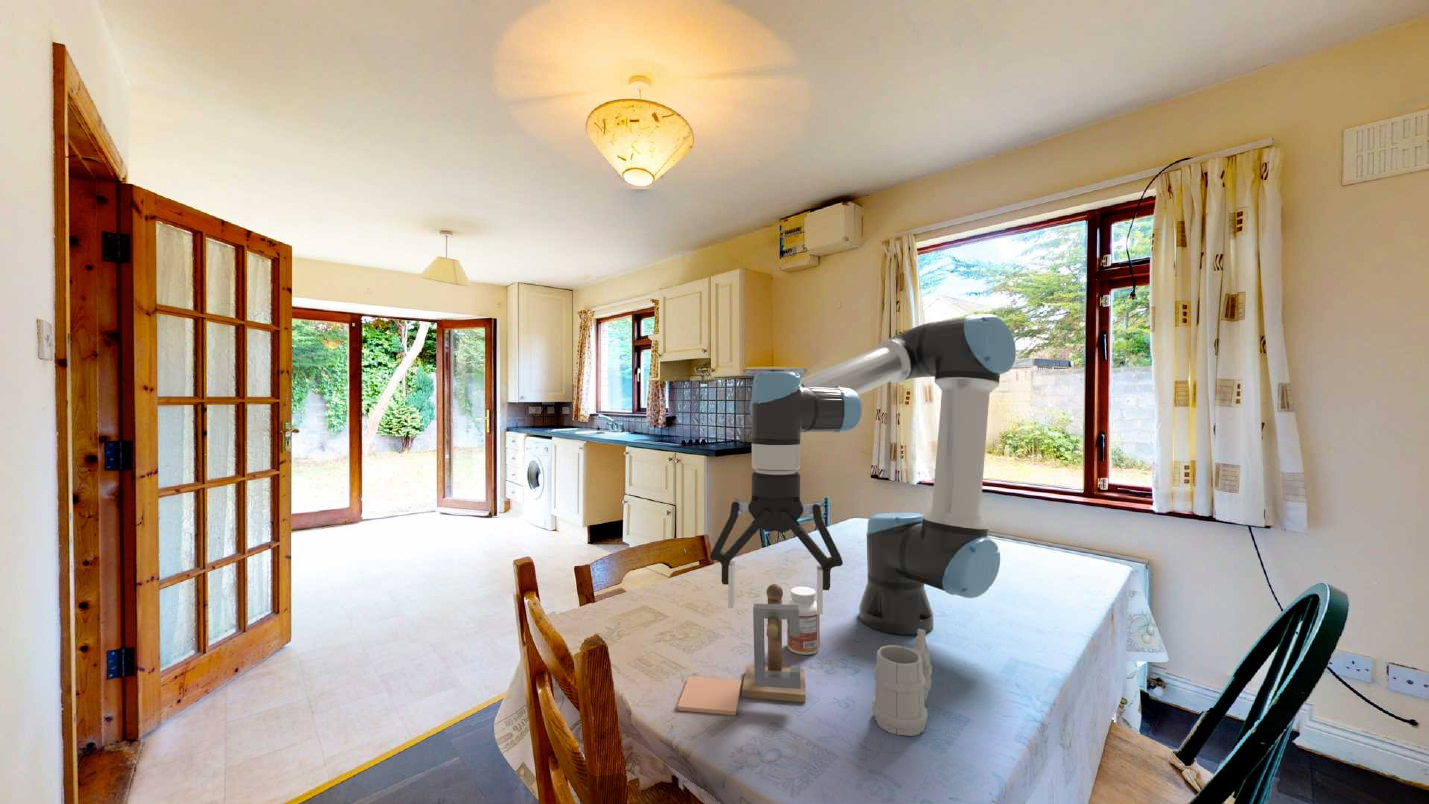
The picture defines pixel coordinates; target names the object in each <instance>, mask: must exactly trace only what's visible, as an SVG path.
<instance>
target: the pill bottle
mask: <svg viewBox="0 0 1429 804" xmlns="http://www.w3.org/2000/svg"><path fill="white" fill-rule="evenodd" d="M790 598H791V600H789V601H788V603H787V605H799V636H790V633H789V619H786V621H787V622H786V627H787V629H786V631H787V632H786V633H787V634H786V638H787V639H786V643H787V647H788V649H789V650H790V652H792V653H794V654H797V655H802V656H803V655H805V656H809V655H814V654H816V653H817V652H818V651H819V650H820V644H821V642H820V640H821V639H820V634H821V633H820V614H818V613H817V601H816V599H817V593H816V590H815V589H814V588H811V587H808V586H795V587H793V588H791V590H790Z"/></svg>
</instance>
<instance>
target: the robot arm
mask: <svg viewBox="0 0 1429 804" xmlns="http://www.w3.org/2000/svg"><path fill="white" fill-rule="evenodd" d="M1016 349H1017V347H1016V343H1015V338H1014V336H1013V333H1012V331H1011V329H1010V328H1009V326H1008V325H1007V323H1006V322H1005V321H1004V320H1003V319H1002V318H1000V317H999V316H996V315H995V314H988V313H987V314H977V315H975V314H971V315H967V316H963V317H957V318H952V319H944V320H940V321H931V322H926V323H924V324H919V325H917V326H915V327H912V328H910V329H908V330H905V331H903V332H901V333H900V334H896V335H894V336H892V337H889V338H888V339H887V338H886V339H885V340H882V341H880V342H879V343H877V344H876V346H875V348H874V349H873V350H869V351H866V352H864V353H862V354H860V355H857V356H854V357H852V358H850V359H847V360H844V361H842V362H840V363H839V362H838V363H837V364H835V365H831V366H829V367H827V368H825V369H822V370H819V371H817V372H814V373H813V374H810V375H807V376H804V377H802V378H801V375H800V374H799V373H798V372H796V371H795V372H794V371H764V372H759V373H756V374H755V376H754V377H753V381H752V389H751V399H750V404H749V412H750V416H751V417H750V418H751V439H752V440H751V468H752V469H753V470H755V471H753V472H752V474H751V499H750V502H745V501H741V500H740V499H738V498H737V499H734V500H733V502H731V505H730V506H731V507H730V512H729V513H730V514H729V517H728V519H727V521H726V523H725V525H724V527H723V528H722V531H721V533H720V535H719V537H718V538H717V541H716V543H714V544H715V545H714V547H713V548H712V550H711V552H710V554H709V558H710V559H711V561H717V562H719V563H720V564H721V584H722V585H725V586H726V585H727V586H728V587H727V588H728V590H727V592H728V593H727V594H728V598H727V600H728V602H727V605H728V606H727V608H728V609H734V606H735V605H736V604H735V603H736V561H735V560H733V558H735V556H736V555H737V554H738V553H739V552H740V551H741V550H742V548H743V547H744V546H745V545H746V544H747V543H748V542H749V541H750V540H751V539H752V537H753V536H754V535H755V534H756V533H757V532H758V531H759V529H761V530H762V531H764V532H767V533H771V532H779V533H787V532H788V531H791V532H792V533H793V534H794V535H795V536H796V538H798V539H799V541H800V542H801V544H803V546H804V547H805V548H806V549H807V551H808V552H809V553H810V554H811V555H812V556H813V558H814V559H815V560H816V561H817V563H818V564H819V565H816V603H817V613H818V614H819V615H823V614H824V611H823V609H824V608H823V606H824V605H823V604H824V599H823V598H824V595H823V594H824V591H830V589H831V572H832V569H833V568H836V567H841V566H843V565H844V564H843V558H842V556H841V554H840V552H839V549H838V548H837V546H836V543H835V541H834V539H833V538H832V536H831V533H830V531H829V530H828V527H827V525H826V523H825V522H824V519H823V518H822V510H821V505H820V503H819V502H818V501H814V502H813V503H808V504H803V503H802V502H801V474H800V473H799V472H798V471H799V470H800V469H801V435H802V433H831V432H832V433H837V434H838V433H840V432H849V431H852V430H853V429H855V428H856V427H857V426H858V425H859V423H860V421H861V418H862V415H863V413H862V411H863V407H862V406H863V405H862V400H861V398H860V396H861V395H863V394H866V393H868V392H870V391H872V390H875V389H876V388H878V387H881V386H884V385H885V384H888V383H893V384H898V383H901V382H904V381H905V380H910V379H916V378H917V379H918V378H930V377H931V378H934V383H935V384H936V385H937V387H938V388H939V389H941V395H940V397H941V398H940V406H939V407H940V408H939V419H938V420H939V421H938V432H937V445H936V455H935V456H936V457H935V467H934V480H933V492H932V503H931V509H930V511H929V512H927V513H925V514H924V515H923V514H922V513H918V512H886V513H877V514H874V515H872V516H870V518H868V521H867V530H866V558H867V559H866V560H867V561H866V562H867V583H866V584H865V587H864V588H865V589H864V592H863V595H862V598H861V599H860V600H861V601H860V604H859V609H858V610H859V616H858V617H859V619H860V621H861V622H862V623H863V624H864V625H866V626H868V627H870V628H872V629H874V630H877V631H880V632H883V633H887V634H892V635H898V636H899V635H901V636H917V635H918V633H917V631H918V629H922V630H925V631H926V633H928V632H930V631H931V630H932V629H933V628H934V613H933V610H932V607H931V604H930V602H929V598H928V595H927V593H926V592H927V591H926V588H925V585H927V586H929V587H931V588H934V589H938V590H940V591H944V592H945V593H947V594H949V595H952V596H953V595H955V596H959V597H963V598H966V599H974V598H978V597H981V596H982V595H984V594H985V593H986V592H987V591H988V590H989V588H990V587H992V585H993V584H994V582H995V580H996V579H997V576H998V573H999V571H1000V566H1001V552H1000V550H999V546H998V544H997V543H996V542H995V541H993V540H992V539H991V538H989V537H988V533H989V526H988V525H987V524H986V522H985V521H984V520H983V519H982V518H981V506H982V495H983V482H984V468H985V457H986V444H987V432H988V431H987V430H988V429H987V428H988V419H989V417H988V416H989V404H990V394H991V392H993V391H994V390H995V389H997V388H998V387H999V386H1000V377H1001V375H1004V374H1006V373H1007V372H1009V371H1011V369H1012V367H1013V365H1014V363H1015V362H1016V354H1017V350H1016ZM746 511H748V513H749V514H750V516H751V517H752V518H753V520H752V522H751V523H749V526H747V528H745V530H744V531H743V532H742V533H741V534H740V536H739V537H738V538H737V539H736V540H735V541H734V543H733V544H732V545H731V546H730V547H729V548H728V549H727V551H726V552H724V551H722V550H723V547H724V546H725V544H726V541H727V540H728V539H729V535H730V534H731V532H732V530H733V528H734V526H735V525H736V522H737V520H738V518H739V517H741V516H743V515H744V514H745V512H746ZM804 513H806V514H807V516H808V518H809V519H813V520H814V524H815V526H816V528H817V530H818V532H819V534H820V536H821V539H822V541H823V542H824V544H825V547H826V549H827V551H828V553H829V555H830V556H827V555H826V554H825V553H824V552H823V551H822V549H821V548H820V547H819V545H818V544H817V543H816V542H815V540H813V538H812V537H811V536H810V535H809V533H808V532H807V531H806V530H805V529H804V528H803V526H802V524H801V523H800V522H799V521H798V520H799V519H800V517H801V516H802V515H803V514H804Z"/></svg>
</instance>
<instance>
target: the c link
mask: <svg viewBox="0 0 1429 804" xmlns="http://www.w3.org/2000/svg"><path fill="white" fill-rule="evenodd" d="M752 615H753V617H752V621H753V624H752V625H753V656H754V657H753V658H754V659H753V661H754V662H753V663H754V664H753V666H754V670H755V686H759V687H776V688H794V689H801V679H800V669H801V665H790V667H789V668H790V672H783V671H765V667H766V652H765V651H766V648H765V619H767V620H768V619H782V620H787V619H789V633H790V636H799V605H788V604H768V603H753V608H752Z"/></svg>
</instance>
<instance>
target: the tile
mask: <svg viewBox="0 0 1429 804" xmlns="http://www.w3.org/2000/svg"><path fill="white" fill-rule="evenodd" d="M742 681H743V680H741V679H728V678H717V677H703V676H691V675H688V677H687V680H686V683H685V684H684V685H685V686H684V688H683V691H682V693H681V694H680V695H681V696H680V699H679V700H678V704H676V705H677V706H676V710H677V711H681V712H694V713H703V714H704V713H707V714H717V715H726V716H727V715H728V716H736V714H737V709H738V705H739V700H740V693H741V690H742V685H743V682H742Z"/></svg>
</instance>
